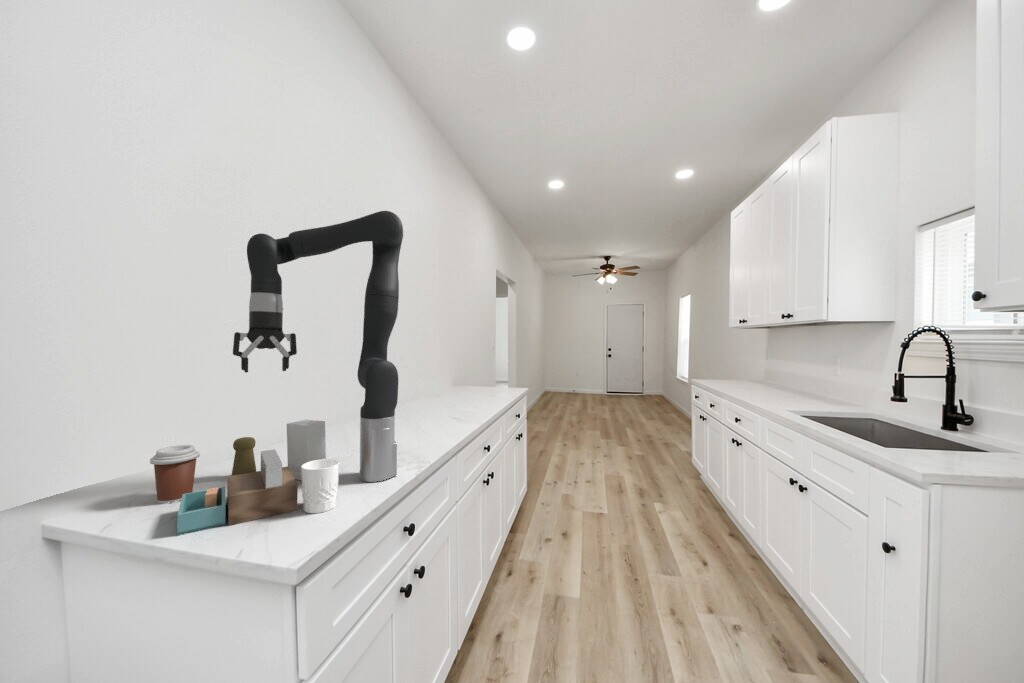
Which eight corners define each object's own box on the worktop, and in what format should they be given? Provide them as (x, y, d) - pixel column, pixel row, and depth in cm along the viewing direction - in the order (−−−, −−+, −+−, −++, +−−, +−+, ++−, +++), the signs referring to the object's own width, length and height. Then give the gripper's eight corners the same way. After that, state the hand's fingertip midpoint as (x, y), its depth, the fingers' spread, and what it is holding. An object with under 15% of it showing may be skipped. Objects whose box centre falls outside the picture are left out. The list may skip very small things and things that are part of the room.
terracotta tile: (218, 487, 87) (207, 489, 86) (216, 493, 84) (205, 495, 83) (218, 504, 87) (207, 506, 86) (216, 511, 84) (204, 513, 83)
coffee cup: (179, 489, 97) (180, 442, 98) (208, 492, 96) (209, 445, 96) (138, 504, 88) (139, 452, 89) (169, 507, 87) (170, 455, 87)
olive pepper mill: (243, 481, 103) (243, 441, 103) (225, 479, 105) (225, 439, 105) (262, 474, 109) (262, 435, 109) (244, 472, 110) (245, 434, 111)
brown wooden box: (287, 489, 98) (288, 466, 98) (297, 510, 86) (297, 483, 86) (227, 501, 90) (227, 476, 90) (228, 525, 78) (228, 496, 78)
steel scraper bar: (274, 469, 96) (275, 449, 96) (281, 485, 84) (282, 463, 85) (260, 471, 94) (260, 451, 94) (265, 488, 83) (266, 465, 83)
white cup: (292, 511, 85) (293, 466, 85) (321, 498, 93) (322, 457, 93) (318, 517, 82) (319, 471, 82) (346, 503, 90) (347, 461, 90)
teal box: (224, 503, 89) (224, 486, 89) (225, 524, 79) (225, 505, 79) (182, 512, 85) (182, 494, 85) (177, 535, 74) (177, 515, 74)
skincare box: (326, 475, 109) (327, 420, 109) (306, 482, 103) (306, 425, 103) (306, 471, 112) (307, 418, 112) (285, 478, 106) (285, 422, 106)
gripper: (294, 313, 109) (293, 369, 109) (232, 310, 100) (232, 371, 100) (298, 311, 103) (298, 371, 103) (233, 308, 94) (232, 373, 94)
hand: (265, 371), depth 102 cm, fingers open, 8 cm apart
